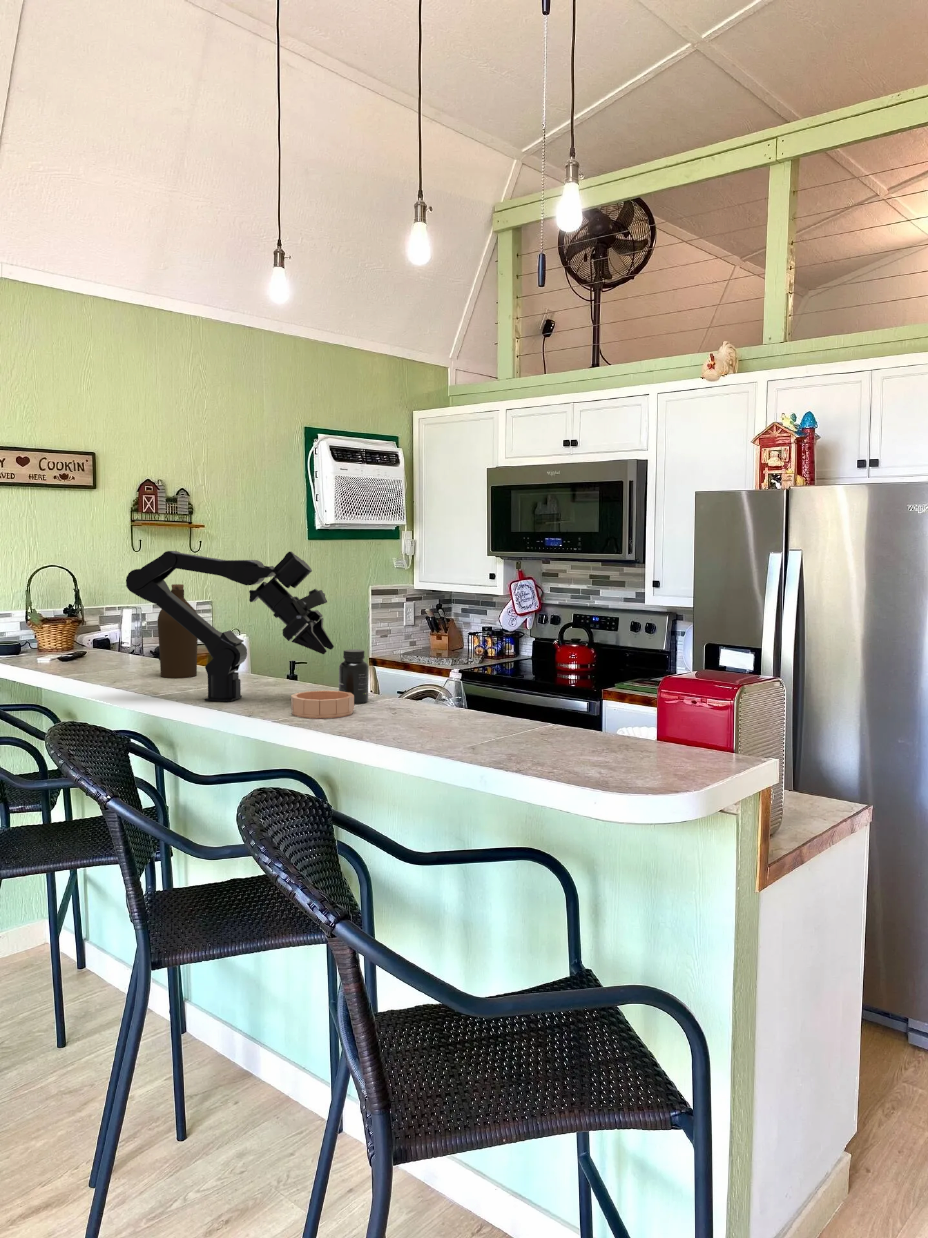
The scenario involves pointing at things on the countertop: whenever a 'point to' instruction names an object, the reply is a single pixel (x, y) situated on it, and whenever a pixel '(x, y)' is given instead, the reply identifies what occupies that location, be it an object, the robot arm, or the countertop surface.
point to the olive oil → (176, 644)
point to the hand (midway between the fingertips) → (329, 650)
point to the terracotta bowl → (322, 704)
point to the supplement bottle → (354, 675)
